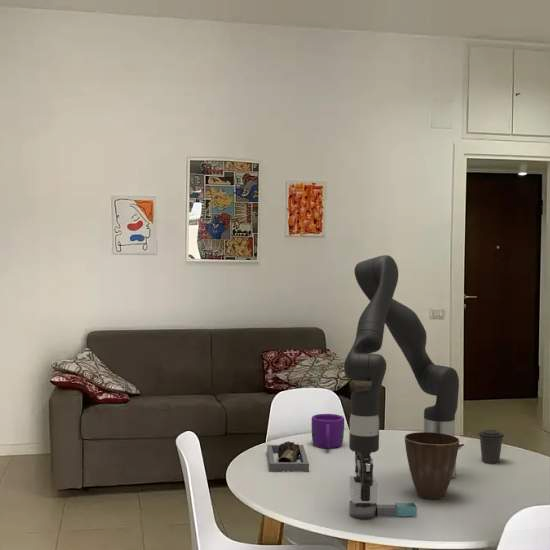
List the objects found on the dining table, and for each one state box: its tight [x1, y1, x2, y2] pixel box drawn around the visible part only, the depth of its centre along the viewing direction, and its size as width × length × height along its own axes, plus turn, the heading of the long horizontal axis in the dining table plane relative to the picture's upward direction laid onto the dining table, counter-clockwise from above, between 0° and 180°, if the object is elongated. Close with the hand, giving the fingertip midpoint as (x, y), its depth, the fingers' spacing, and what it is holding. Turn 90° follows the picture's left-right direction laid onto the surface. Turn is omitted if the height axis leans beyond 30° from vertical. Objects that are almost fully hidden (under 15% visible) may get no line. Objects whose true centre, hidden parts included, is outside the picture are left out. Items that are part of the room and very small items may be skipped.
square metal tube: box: [349, 475, 378, 504], centre depth 195 cm, size 6×6×5 cm
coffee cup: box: [478, 429, 505, 465], centre depth 247 cm, size 8×8×10 cm
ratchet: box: [348, 499, 418, 521], centre depth 196 cm, size 17×7×8 cm, turn 92°
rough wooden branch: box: [277, 441, 300, 462], centre depth 244 cm, size 18×7×6 cm, turn 169°
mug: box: [311, 413, 345, 449], centre depth 263 cm, size 17×11×10 cm, turn 176°
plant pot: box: [404, 431, 460, 500], centre depth 212 cm, size 15×15×16 cm
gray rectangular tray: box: [266, 444, 310, 473], centre depth 245 cm, size 12×23×2 cm, turn 2°
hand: (363, 496), depth 195 cm, fingers closed on square metal tube, 6 cm apart
